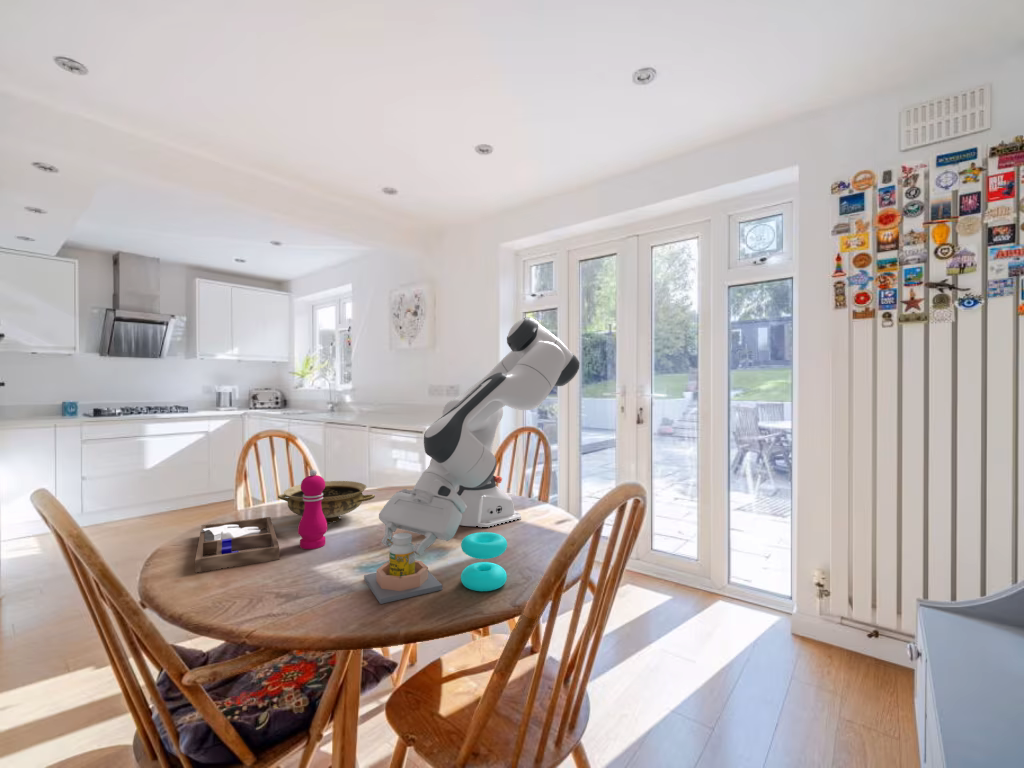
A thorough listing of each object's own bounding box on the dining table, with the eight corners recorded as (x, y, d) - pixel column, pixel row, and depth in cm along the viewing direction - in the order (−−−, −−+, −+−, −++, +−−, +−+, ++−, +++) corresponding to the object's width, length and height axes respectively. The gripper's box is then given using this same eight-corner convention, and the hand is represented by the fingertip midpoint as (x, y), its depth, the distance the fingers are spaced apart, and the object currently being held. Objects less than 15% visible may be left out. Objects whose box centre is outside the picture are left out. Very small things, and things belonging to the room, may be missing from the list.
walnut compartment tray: (270, 526, 141) (270, 516, 141) (279, 559, 116) (279, 546, 116) (201, 536, 132) (201, 525, 132) (195, 573, 107) (195, 559, 107)
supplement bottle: (419, 577, 104) (420, 533, 103) (405, 587, 99) (406, 541, 99) (398, 573, 106) (399, 530, 105) (383, 582, 101) (384, 537, 100)
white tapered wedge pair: (229, 551, 121) (268, 539, 131) (229, 535, 121) (269, 524, 131) (200, 544, 126) (240, 533, 136) (201, 528, 126) (240, 518, 136)
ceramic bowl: (385, 510, 159) (385, 480, 159) (360, 533, 136) (360, 498, 135) (297, 508, 161) (297, 479, 160) (256, 531, 137) (256, 496, 137)
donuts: (496, 548, 97) (452, 541, 100) (495, 597, 97) (452, 588, 100) (514, 533, 106) (473, 528, 110) (513, 578, 106) (473, 571, 110)
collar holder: (420, 568, 111) (421, 553, 111) (442, 589, 100) (442, 573, 100) (364, 579, 104) (364, 563, 104) (380, 604, 93) (380, 586, 93)
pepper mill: (316, 551, 121) (317, 472, 121) (291, 548, 123) (292, 471, 123) (332, 541, 128) (333, 467, 128) (308, 539, 130) (309, 466, 130)
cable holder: (238, 563, 113) (238, 547, 113) (221, 566, 111) (221, 549, 111) (238, 553, 120) (238, 537, 120) (221, 555, 118) (222, 539, 118)
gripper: (393, 480, 113) (359, 532, 105) (460, 492, 102) (428, 551, 94) (406, 495, 117) (375, 546, 109) (472, 508, 106) (443, 566, 98)
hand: (400, 548), depth 102 cm, fingers open, 8 cm apart
